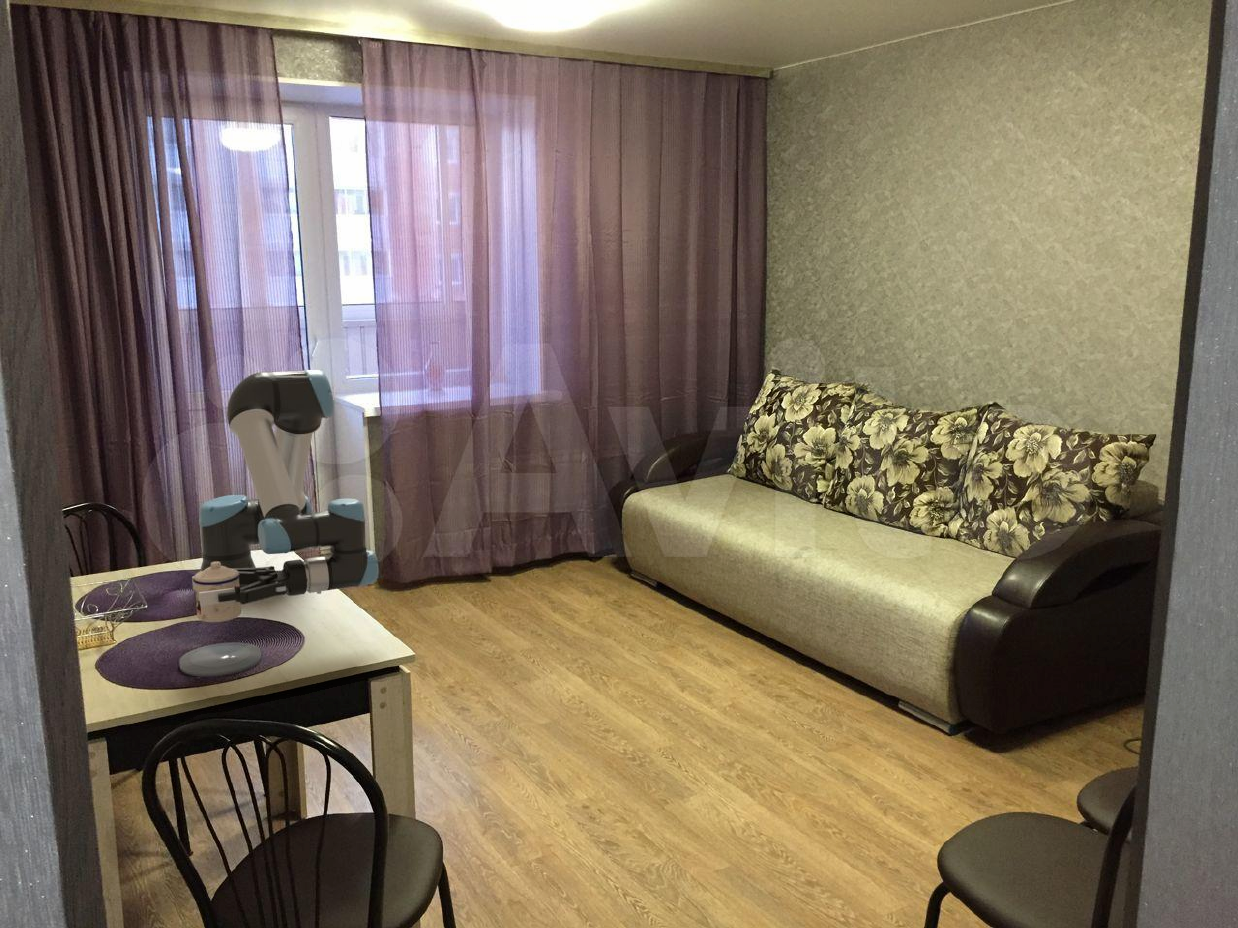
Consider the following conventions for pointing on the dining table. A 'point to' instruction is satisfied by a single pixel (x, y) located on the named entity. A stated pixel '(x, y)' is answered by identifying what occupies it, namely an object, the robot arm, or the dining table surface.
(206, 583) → the teacup with lid
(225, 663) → the dish
